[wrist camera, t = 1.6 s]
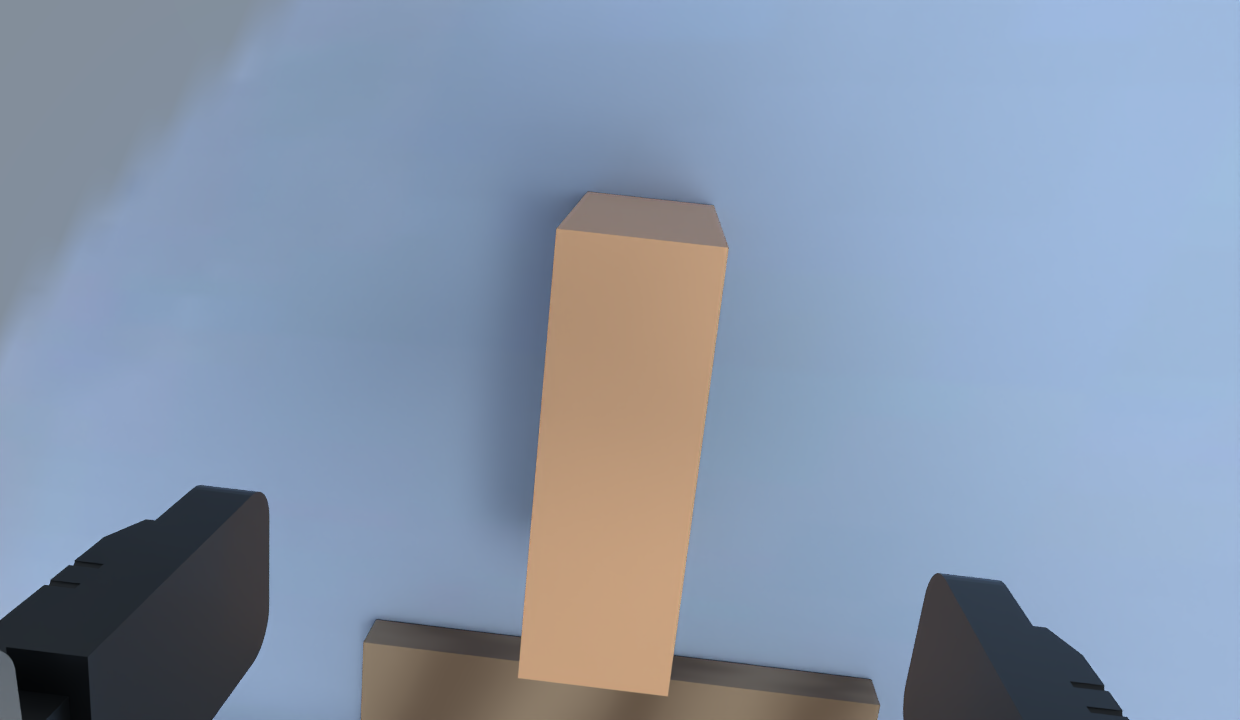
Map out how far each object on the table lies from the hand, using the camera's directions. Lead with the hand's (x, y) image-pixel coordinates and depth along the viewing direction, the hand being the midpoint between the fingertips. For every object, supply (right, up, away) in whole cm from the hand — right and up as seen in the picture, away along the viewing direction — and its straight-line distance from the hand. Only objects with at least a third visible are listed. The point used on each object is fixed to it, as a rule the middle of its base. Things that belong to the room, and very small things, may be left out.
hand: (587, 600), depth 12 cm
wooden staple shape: (+1, +2, +20) cm, 21 cm away
